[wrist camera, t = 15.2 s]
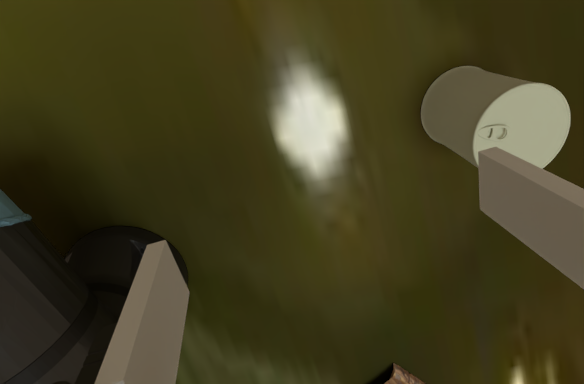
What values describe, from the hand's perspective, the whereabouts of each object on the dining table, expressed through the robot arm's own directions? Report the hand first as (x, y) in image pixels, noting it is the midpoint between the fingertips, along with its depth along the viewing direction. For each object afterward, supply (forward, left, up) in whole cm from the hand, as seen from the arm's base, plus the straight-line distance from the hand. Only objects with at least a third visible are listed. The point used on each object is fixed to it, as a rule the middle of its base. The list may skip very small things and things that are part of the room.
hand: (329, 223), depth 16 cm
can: (+20, -6, -29) cm, 36 cm away
